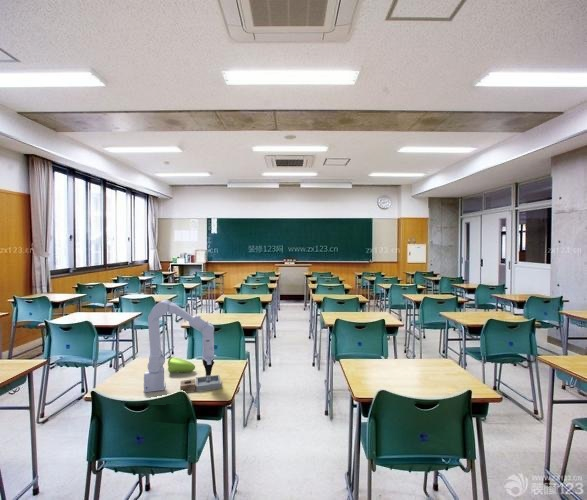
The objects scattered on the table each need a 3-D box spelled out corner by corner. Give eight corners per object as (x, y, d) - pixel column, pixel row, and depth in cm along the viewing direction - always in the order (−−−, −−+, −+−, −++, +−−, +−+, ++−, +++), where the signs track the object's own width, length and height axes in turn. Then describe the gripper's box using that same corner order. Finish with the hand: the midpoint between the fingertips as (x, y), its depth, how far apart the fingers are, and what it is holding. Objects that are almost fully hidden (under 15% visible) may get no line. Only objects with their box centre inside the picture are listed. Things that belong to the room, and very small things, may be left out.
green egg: (158, 357, 187) (191, 362, 184) (169, 354, 199) (200, 359, 196) (155, 372, 186) (189, 377, 183) (166, 368, 198) (198, 373, 195)
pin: (205, 383, 170) (206, 369, 170) (205, 381, 173) (205, 367, 173) (210, 382, 171) (210, 368, 171) (210, 380, 173) (210, 367, 173)
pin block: (180, 392, 163) (180, 386, 163) (180, 386, 170) (180, 380, 170) (195, 390, 166) (195, 384, 166) (194, 384, 172) (194, 379, 172)
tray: (196, 391, 164) (196, 386, 164) (195, 382, 176) (195, 377, 176) (221, 388, 168) (221, 383, 168) (219, 379, 179) (219, 374, 179)
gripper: (217, 351, 166) (217, 378, 166) (215, 343, 180) (215, 368, 180) (202, 352, 164) (202, 380, 164) (201, 344, 178) (201, 370, 178)
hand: (208, 374), depth 172 cm, fingers closed on pin, 2 cm apart
